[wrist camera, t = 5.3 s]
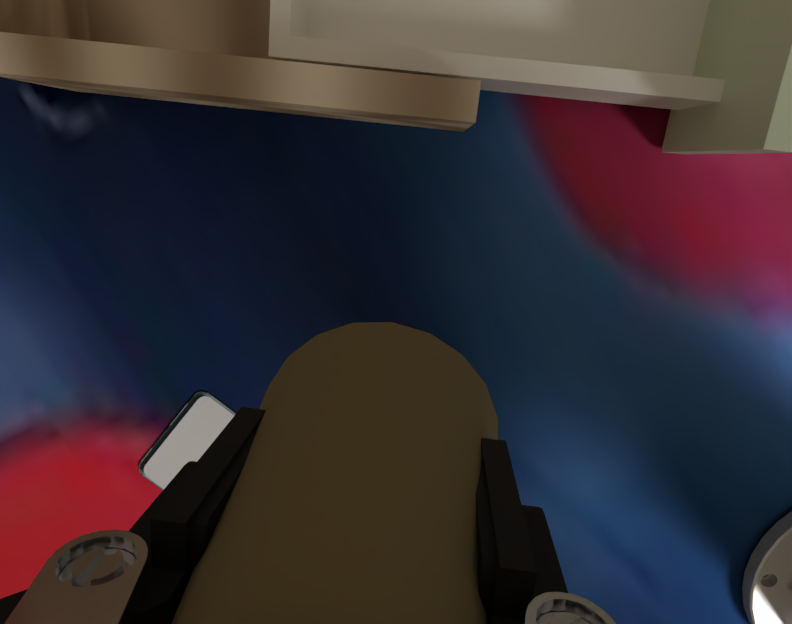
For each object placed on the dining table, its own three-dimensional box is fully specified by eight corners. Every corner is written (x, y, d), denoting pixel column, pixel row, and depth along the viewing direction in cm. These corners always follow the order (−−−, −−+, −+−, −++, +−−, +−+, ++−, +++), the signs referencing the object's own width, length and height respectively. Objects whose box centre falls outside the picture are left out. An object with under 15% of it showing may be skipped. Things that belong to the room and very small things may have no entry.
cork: (292, 551, 15) (-62, 1485, 4) (233, 343, 14) (-502, 980, 3) (515, 524, 14) (738, 1567, 4) (478, 300, 13) (665, 942, 2)
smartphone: (200, 387, 31) (405, 542, 33) (203, 383, 31) (405, 536, 33) (133, 470, 32) (332, 613, 34) (138, 465, 33) (334, 606, 35)
